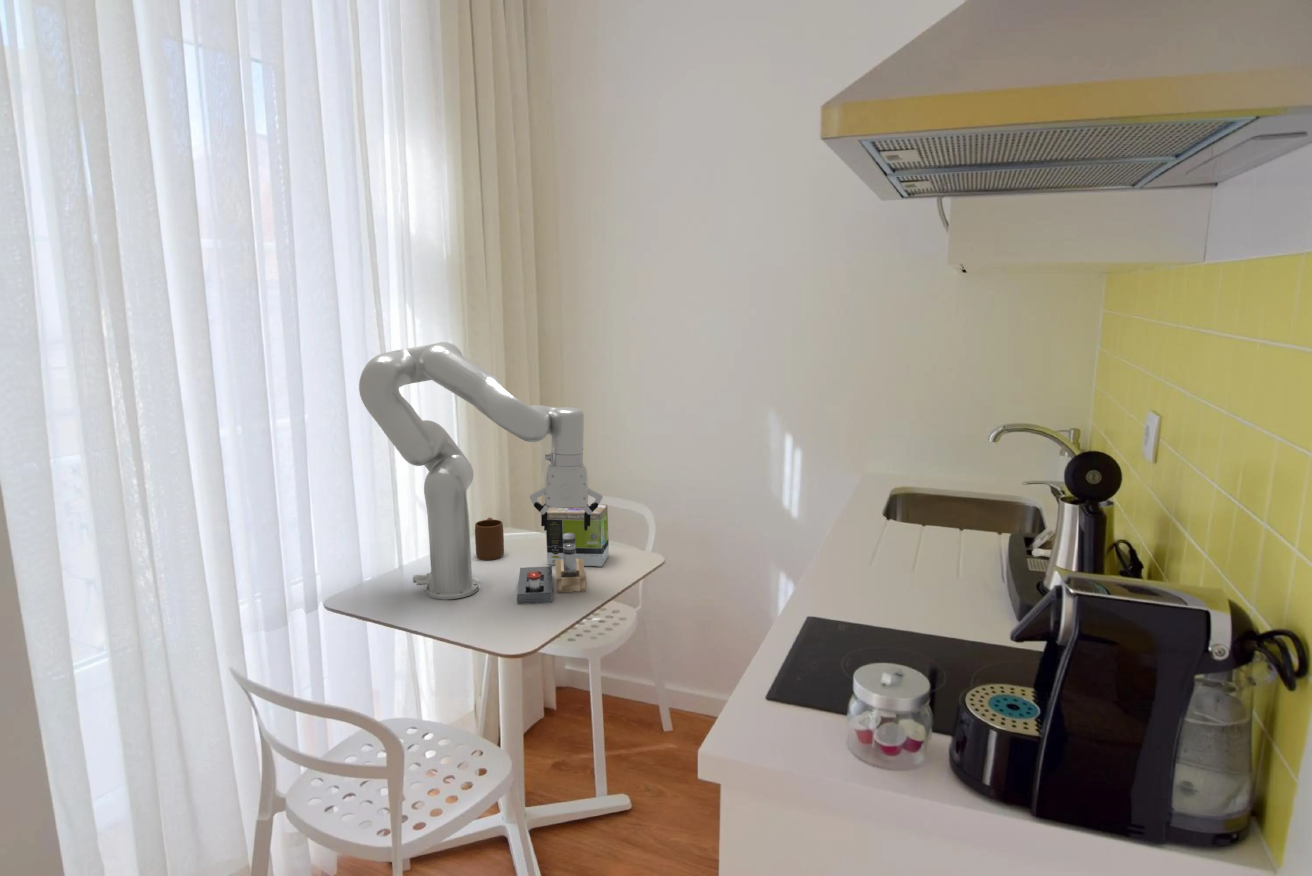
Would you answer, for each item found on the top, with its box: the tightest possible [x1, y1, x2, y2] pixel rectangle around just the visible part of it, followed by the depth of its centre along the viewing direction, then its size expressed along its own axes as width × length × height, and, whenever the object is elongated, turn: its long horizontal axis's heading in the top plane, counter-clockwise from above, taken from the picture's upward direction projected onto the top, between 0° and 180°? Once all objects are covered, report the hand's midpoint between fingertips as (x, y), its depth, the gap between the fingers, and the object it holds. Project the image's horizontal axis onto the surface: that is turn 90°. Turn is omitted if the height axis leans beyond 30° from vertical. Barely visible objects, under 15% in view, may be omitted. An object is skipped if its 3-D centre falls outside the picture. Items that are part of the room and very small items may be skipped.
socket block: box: [516, 565, 553, 605], centre depth 191 cm, size 8×18×2 cm, turn 7°
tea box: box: [545, 503, 610, 567], centre depth 211 cm, size 15×10×15 cm, turn 82°
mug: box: [474, 517, 505, 561], centre depth 217 cm, size 12×8×9 cm, turn 10°
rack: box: [555, 533, 587, 593], centre depth 195 cm, size 7×14×11 cm, turn 7°
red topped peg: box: [527, 571, 542, 593], centre depth 184 cm, size 3×3×5 cm
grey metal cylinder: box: [563, 543, 576, 577], centre depth 191 cm, size 3×3×11 cm
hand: (565, 529), depth 190 cm, fingers open, 9 cm apart
